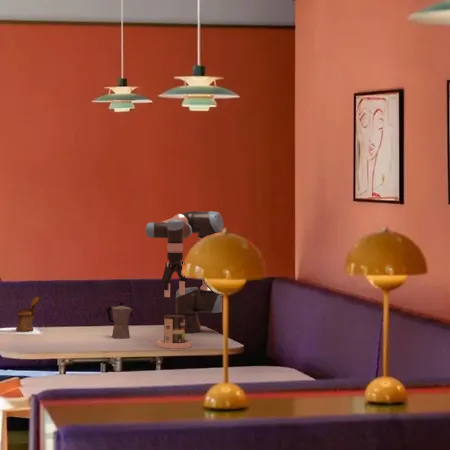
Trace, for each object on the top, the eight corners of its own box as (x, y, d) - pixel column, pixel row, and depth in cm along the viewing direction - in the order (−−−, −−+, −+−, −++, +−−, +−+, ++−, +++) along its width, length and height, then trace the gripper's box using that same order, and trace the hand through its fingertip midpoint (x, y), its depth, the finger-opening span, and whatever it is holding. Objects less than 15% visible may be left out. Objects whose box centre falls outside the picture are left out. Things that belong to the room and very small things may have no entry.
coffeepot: (136, 337, 611) (137, 302, 611) (126, 339, 603) (127, 303, 603) (111, 335, 619) (112, 300, 618) (101, 337, 611) (101, 301, 610)
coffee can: (187, 343, 586) (187, 314, 585) (182, 346, 575) (182, 317, 575) (166, 342, 588) (167, 314, 587) (161, 345, 578) (161, 316, 577)
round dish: (168, 343, 592) (168, 338, 592) (196, 345, 584) (196, 340, 584) (151, 346, 578) (151, 341, 578) (179, 349, 570) (179, 344, 570)
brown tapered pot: (43, 330, 636) (44, 296, 635) (22, 332, 626) (22, 297, 626) (34, 328, 642) (34, 294, 641) (12, 330, 633) (12, 296, 632)
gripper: (181, 250, 592) (181, 293, 593) (154, 252, 570) (154, 297, 571) (194, 250, 588) (194, 294, 589) (168, 253, 567) (167, 298, 568)
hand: (174, 295), depth 580 cm, fingers open, 13 cm apart
